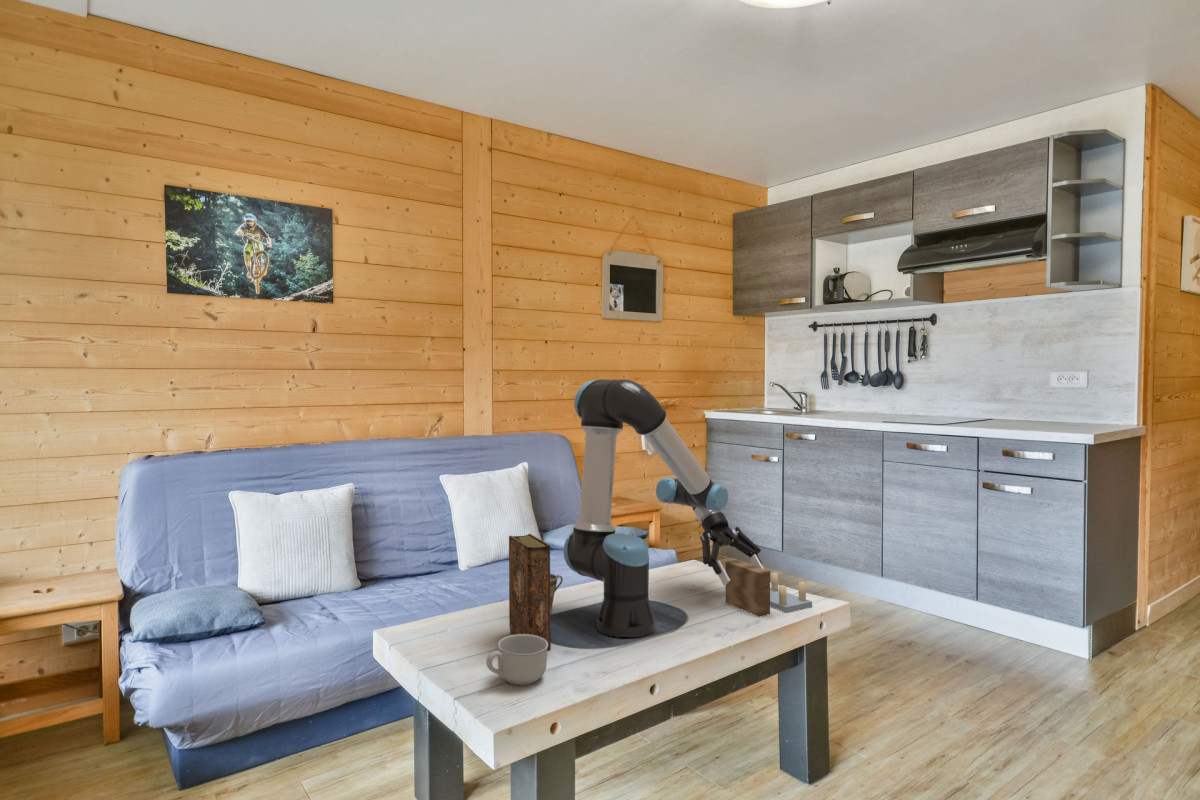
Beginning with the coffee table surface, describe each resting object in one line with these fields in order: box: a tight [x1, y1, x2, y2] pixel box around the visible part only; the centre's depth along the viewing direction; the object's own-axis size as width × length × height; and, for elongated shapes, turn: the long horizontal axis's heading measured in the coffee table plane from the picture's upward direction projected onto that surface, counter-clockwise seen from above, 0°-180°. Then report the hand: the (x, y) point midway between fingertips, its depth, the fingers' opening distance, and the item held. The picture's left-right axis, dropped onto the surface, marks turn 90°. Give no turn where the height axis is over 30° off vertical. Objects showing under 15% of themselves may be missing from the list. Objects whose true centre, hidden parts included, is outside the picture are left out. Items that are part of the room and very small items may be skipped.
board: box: [725, 559, 771, 618], centre depth 194 cm, size 14×4×12 cm, turn 29°
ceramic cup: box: [550, 572, 564, 615], centre depth 192 cm, size 13×10×10 cm
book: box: [508, 533, 552, 653], centre depth 170 cm, size 16×6×25 cm, turn 25°
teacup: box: [486, 634, 548, 686], centre depth 147 cm, size 14×11×8 cm
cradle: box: [770, 572, 813, 613], centre depth 200 cm, size 16×10×6 cm, turn 29°
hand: (745, 579), depth 197 cm, fingers open, 13 cm apart
